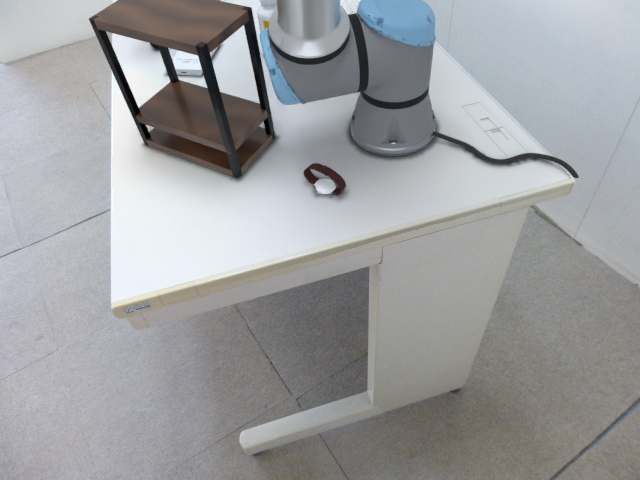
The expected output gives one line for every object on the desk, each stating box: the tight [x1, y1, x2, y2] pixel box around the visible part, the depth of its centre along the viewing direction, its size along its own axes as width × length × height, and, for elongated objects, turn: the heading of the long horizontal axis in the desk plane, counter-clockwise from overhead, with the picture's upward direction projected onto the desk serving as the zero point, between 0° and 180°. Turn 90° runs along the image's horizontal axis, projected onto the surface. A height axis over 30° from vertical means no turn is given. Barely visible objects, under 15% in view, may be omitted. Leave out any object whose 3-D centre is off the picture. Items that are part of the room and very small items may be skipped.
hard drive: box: [165, 45, 220, 77], centre depth 112 cm, size 2×8×12 cm
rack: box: [88, 0, 277, 180], centre depth 84 cm, size 12×22×24 cm, turn 60°
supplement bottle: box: [256, 0, 277, 33], centre depth 107 cm, size 7×7×13 cm
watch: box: [303, 162, 347, 196], centre depth 82 cm, size 8×5×4 cm
